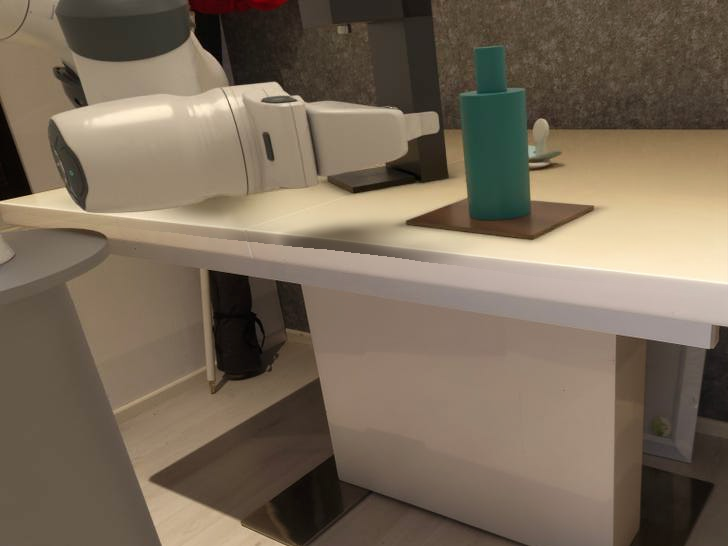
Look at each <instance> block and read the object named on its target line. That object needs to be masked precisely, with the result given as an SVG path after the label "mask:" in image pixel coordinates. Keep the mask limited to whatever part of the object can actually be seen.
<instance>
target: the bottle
mask: <svg viewBox="0 0 728 546" xmlns="http://www.w3.org/2000/svg"><path fill="white" fill-rule="evenodd" d="M473 61H474V62H473V63H474V75H475V76H474V77H475V87H476V88H475V89H476V90H472V91H465V92H461V93H459V94H458V101H459V102H458V103H459V114H460V127H461V138H462V150H463V160H464V161H463V162H464V172H465V173H464V174H465V184H466V195H467V198H468V208H469V215H470V217H472V218H475V219H480V220H505V219H512V218H517V217H521V216H524V215H526V214H528V213H530V211H531V201H532V199H531V197H532V195H531V179H530V168H529V154H528V145H529V136H528V115H527V114H528V113H527V93H526V91H527V90H526V88H524V87H508V81H507V79H508V78H507V63H506V47H505V45H491V46H480V47H473Z"/></svg>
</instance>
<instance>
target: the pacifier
mask: <svg viewBox="0 0 728 546" xmlns="http://www.w3.org/2000/svg"><path fill="white" fill-rule="evenodd" d="M549 133H550V125H549V122H548V121H547V120H546V119H544V118H541V117H540V118H538V119H537V120H536V121H535V122H534V124H533V127H532V140H533V141H534V145H529V144H528V154H529V169H539V168H544V167H547V166H550V165H551V159H554V158H557V157H559V156H560V155H562V154H563V150H562V149H554V150H550V151H547V141H546V140H547V139H548V136H549Z"/></svg>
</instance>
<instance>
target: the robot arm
mask: <svg viewBox="0 0 728 546" xmlns="http://www.w3.org/2000/svg"><path fill="white" fill-rule="evenodd" d="M190 14H191V13H190V6H189V1H188V0H0V42H2V43H6V44H10V45H11V44H12V45H17V46H23V47H27V48H31V49H37V50H40V51H43V52H45V53H48V54H50V55H52V56H54V57H56V58H57V59H59V60H60V61H61V63H62V65H63V66H60V65H59V66H57V65H56V66H53V67H52V74H53V76H54V77H55V78H56V79H57V80H59V81H60V83H61V85H62V89H63V92H64V94H65V96H66V97H67V99H68V100H69V102H70V104H72V106H73V107H74V108H73V109H70V110H66V111H63V112H59V113H56V114H54V115H52V116H51V117H50V118H49V121H48V126H47V137H48V141H49V146H50V151H51V153H52V157H53V159H54V163H55V165H56V167H57V171H58V173H59V176H60V178H61V180H62V181H63V183H64V186H65V189H66V191H67V193H68V195H69V196H70V198H71V199H72V201H73V202H74V203H75V204H76V205H77V206H78V207H79V208H80V209H81V210H83V211H84V212H86V213H90V214H92V213H93V214H122V213H123V214H124V213H125V214H126V213H140V212H142V213H143V212H153V211H162V210H169V209H176V208H184V207H190V206H194V205H197V204H199V203H201V202H203V201H206V200H207V199H210V198H214V197H219V196H230V197H238V198H239V197H249V196H254V195H260V194H266V193H272V192H278V191H284V190H285V191H286V190H300V189H308V188H313V187H316V186H317V185H319V177H322V178H323V177H327V176H331V175H337V174H341V173H346V172H352V171H358V170H364V169H368V168H372V167H374V166H375V167H376V166H378V165H383V164H385V163H386V162H390V161H393V160H396V159H398V158H400V157H402V156H404V155H405V154H407V152H408V142H407V141H410V140H412V139H415V138H417V137H420V136H422V135H428V134H434V133H437V132H438V131H439V118H438V114H437V113H436V112H432V111H424V112H417V113H413V114H403V112H402V111H400V110H398V109H397V108H396V107H392V106H386V107H378V106H373V105H365V104H359V103H352V102H346V101H345V102H344V101H336V100H322V101H313V102H307V101H305V100H304V99H303V98H302V97H301V96H300V95H298V94H295V95H291V94H289V93H288V92H286V90H285V91H284V89H283V87H282V86H281V84H279V82H277V81H267V82H259V83H258V82H257V83H250V84H239V85H231V86H230V83H229V79H228V77H227V74H226V72H225V70H224V68H223V66H222V65H221V64H220V62H219V61H218V60H217V59H216V57H215V56H213V55H212V54H211V53H210V52H209V51H207V50H206V49H205V48H203V46H202V45H201V43H200V41H199V40H198V38H197V37H196V35H195V33H194V32H193V31H192V29H196V28H197V27H196V26H197V24H196V21H194V20H193V19H191V16H190ZM191 28H192V29H191ZM14 255H15V253H14V251H13V250H12V249H11V248H10V247H9V245H8V244H7V243H6V241H5V240H4V239H3V237H2V236H1V234H0V265H1V264H3V263H5V262H7V261H8V260H10V259H11V258H12V257H13V256H14Z"/></svg>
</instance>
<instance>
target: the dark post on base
mask: <svg viewBox="0 0 728 546" xmlns="http://www.w3.org/2000/svg"><path fill="white" fill-rule="evenodd" d="M297 1H298V7H299V13H300V18H301V24H302V29H303V30H316V29H317V30H318V29H329V28H330V29H331V28H336V31H337V35H346V34H352V33H353V32H352V31H353V30H352V27H355V26H366V32H367V40H368V47H369V54H370V62H371V68H372V77H373V83H374V89H375V90H374V91H375V97H376V98H375V99H376V104H377V106H376V107H386V106H392V107H396V108H397V109H398V110H400V111H402V112H403V114H413V113H417V112H424V111H432V112H436V113H437V114H438V118H439V131H438V132H437V133H434V134H428V135H422V136H420V137H417V138H415V139H412V140H410V141H407V142H408V152H407V154H405V155H404V156H402V157H400V158H398V159H396V160H393V161H390V162H386V163H384V164H385V165H383V166H377V167H376V166H375V167H369V168H363V169H358V170H354V171H350V172H346V173H341V174H337V175H331V176H326V177H327V181H328V182H329V183H331V184H333V185H336V186H337V187H340V188H342V189H343V190H346V191H348V192H350V193H352V194H358V193H363V192H369V191H375V190H380V189H381V190H382V189H385V188H390V187H396V186H403V185H408V184H413V183H417V182H419V183H427V182H434V181H438V180H439V181H440V180H444V179H449V169H448V160H447V159H448V158H447V157H448V156H447V149H446V138H445V129H444V128H445V126H444V118H443V108H442V97H441V88H440V86H441V85H440V76H439V67H438V57H437V46H436V36H435V27H434V16H433V6H432V0H297Z"/></svg>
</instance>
